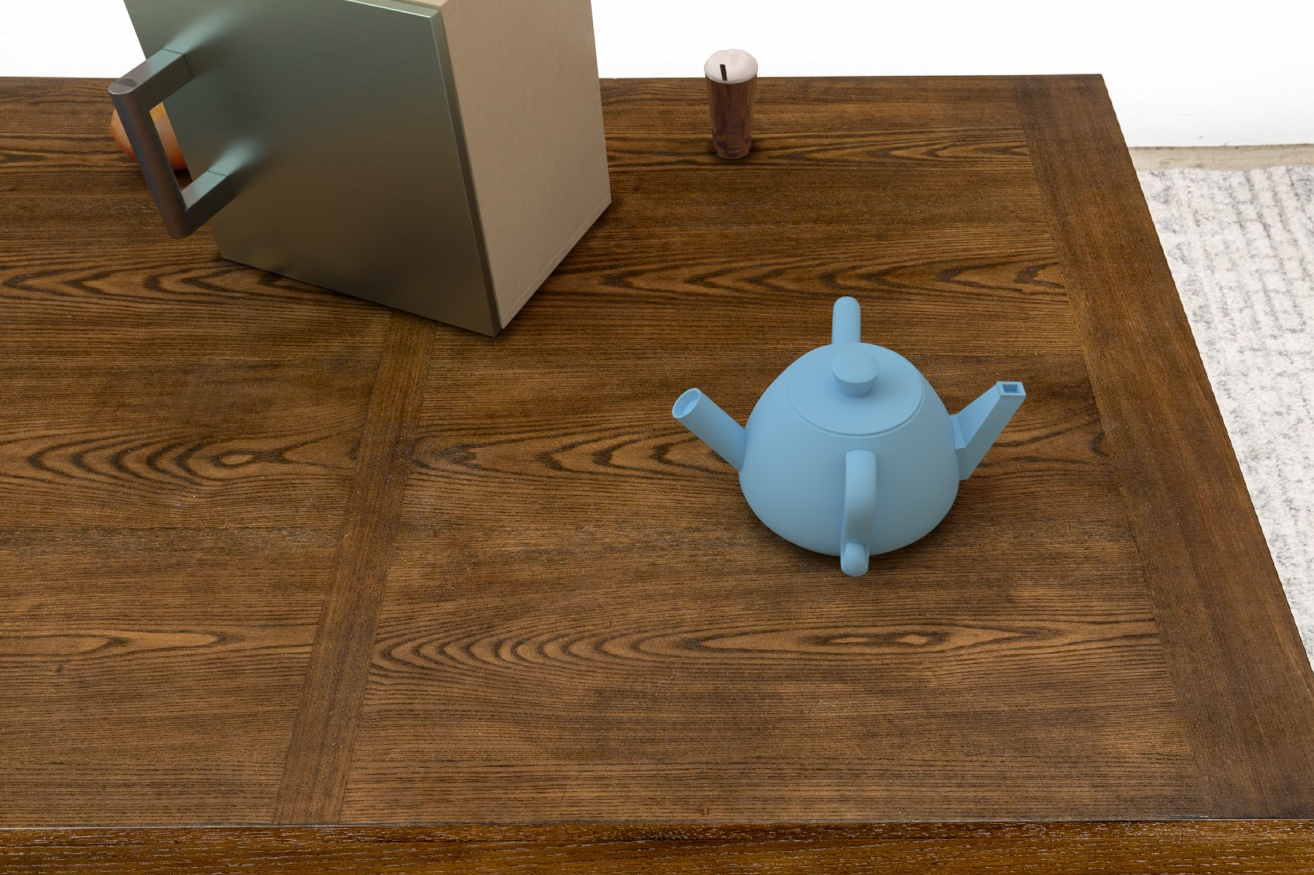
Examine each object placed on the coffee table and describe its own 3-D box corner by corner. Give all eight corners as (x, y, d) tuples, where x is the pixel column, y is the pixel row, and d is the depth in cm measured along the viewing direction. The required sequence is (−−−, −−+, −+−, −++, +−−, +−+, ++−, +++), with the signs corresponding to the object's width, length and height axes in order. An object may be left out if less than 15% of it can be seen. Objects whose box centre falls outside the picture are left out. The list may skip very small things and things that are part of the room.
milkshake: (699, 166, 111) (695, 61, 104) (713, 133, 115) (710, 29, 108) (749, 172, 111) (749, 66, 103) (762, 139, 114) (763, 35, 107)
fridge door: (452, 387, 92) (373, 63, 74) (172, 301, 100) (36, -13, 81) (501, 330, 97) (439, 9, 78) (229, 251, 104) (113, -58, 86)
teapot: (809, 370, 93) (815, 246, 85) (1013, 481, 85) (1040, 355, 77) (669, 490, 85) (659, 366, 77) (878, 623, 77) (892, 501, 69)
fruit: (237, 112, 117) (195, 66, 109) (223, 192, 115) (180, 151, 107) (153, 109, 117) (106, 63, 110) (138, 188, 116) (90, 148, 108)
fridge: (503, 329, 97) (441, 5, 78) (232, 250, 105) (114, -62, 86) (611, 202, 108) (580, -109, 89) (359, 139, 116) (280, -159, 97)
